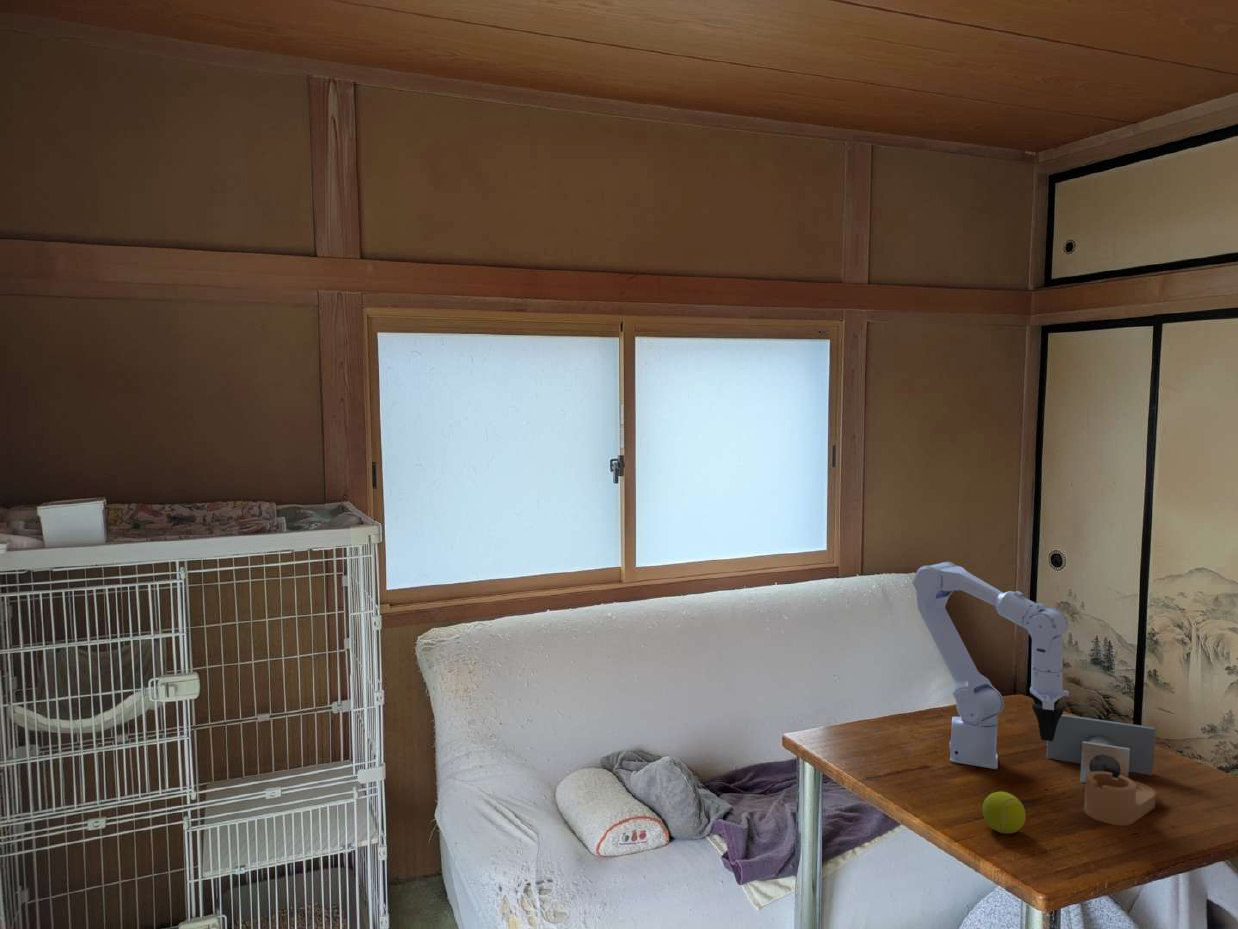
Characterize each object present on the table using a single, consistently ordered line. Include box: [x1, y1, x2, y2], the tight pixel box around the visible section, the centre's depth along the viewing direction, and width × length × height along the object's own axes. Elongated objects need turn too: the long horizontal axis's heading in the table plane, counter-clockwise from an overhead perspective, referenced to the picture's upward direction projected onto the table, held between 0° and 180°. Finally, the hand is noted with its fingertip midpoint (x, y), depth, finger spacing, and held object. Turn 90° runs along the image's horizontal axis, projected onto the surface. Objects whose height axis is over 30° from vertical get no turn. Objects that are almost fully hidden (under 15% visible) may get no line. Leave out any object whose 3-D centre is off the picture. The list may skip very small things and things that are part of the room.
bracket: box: [1083, 771, 1156, 826], centre depth 164 cm, size 18×8×7 cm, turn 128°
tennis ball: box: [981, 791, 1027, 835], centre depth 155 cm, size 7×7×7 cm
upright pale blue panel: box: [1046, 713, 1156, 784], centre depth 179 cm, size 20×12×10 cm, turn 66°
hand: (1046, 734), depth 174 cm, fingers open, 7 cm apart
